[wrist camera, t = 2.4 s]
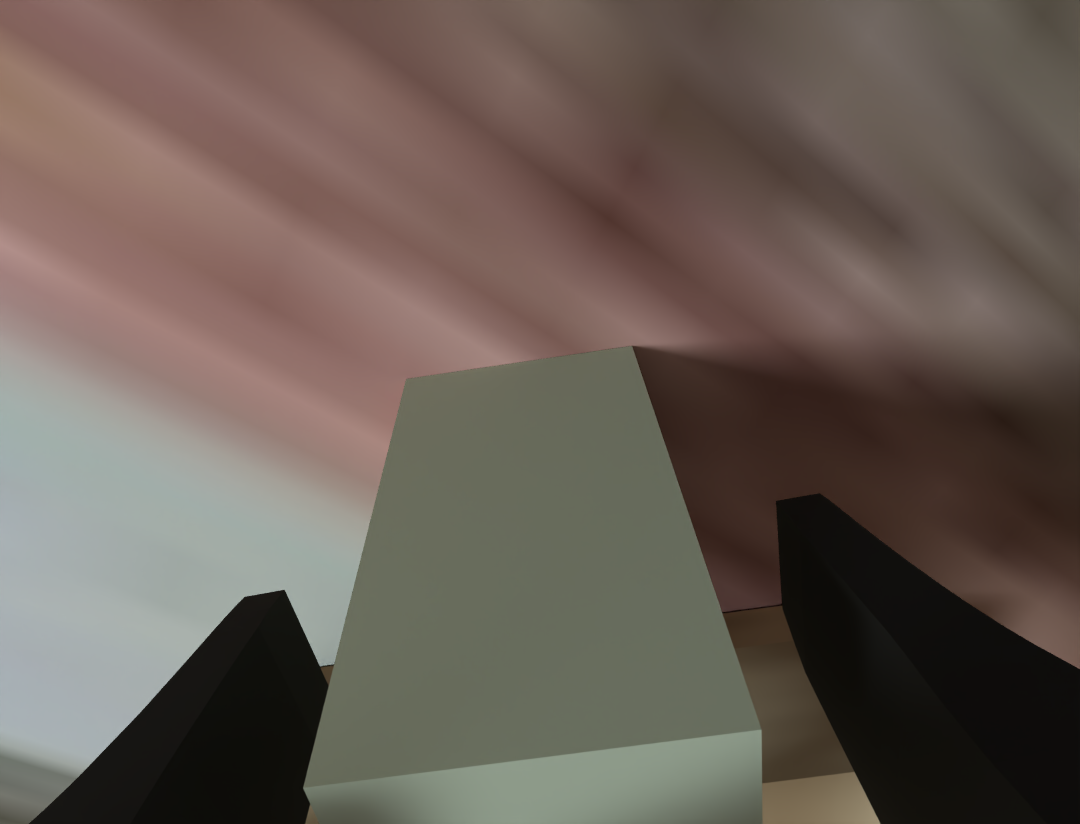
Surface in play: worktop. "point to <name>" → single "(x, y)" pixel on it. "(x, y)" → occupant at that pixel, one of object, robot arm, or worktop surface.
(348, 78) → the worktop surface
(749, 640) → the well block
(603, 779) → the sage peg
